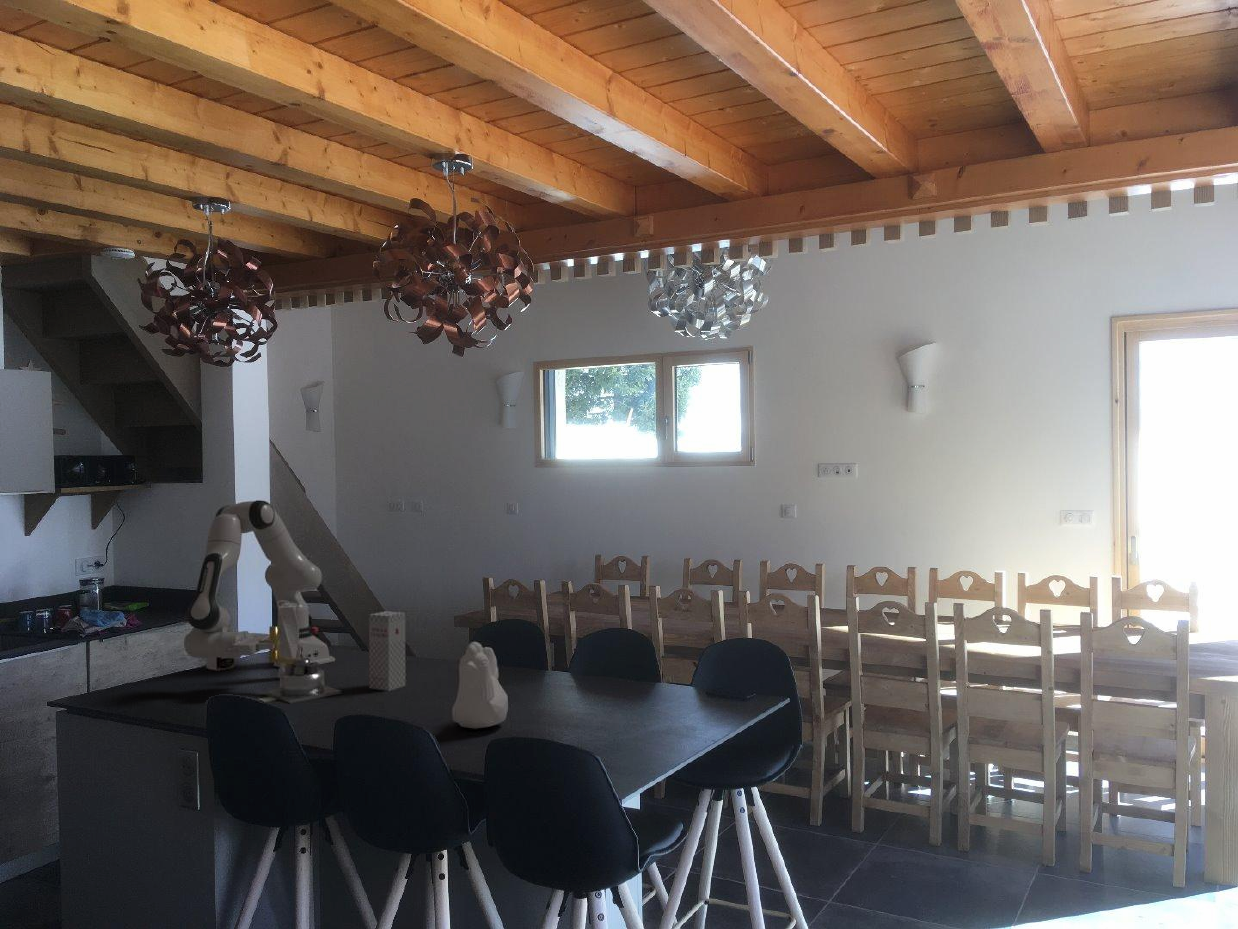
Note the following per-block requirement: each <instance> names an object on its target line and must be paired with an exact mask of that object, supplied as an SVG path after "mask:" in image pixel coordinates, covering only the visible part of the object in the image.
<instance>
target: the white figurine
mask: <svg viewBox="0 0 1238 929" xmlns="http://www.w3.org/2000/svg"><path fill="white" fill-rule="evenodd" d="M458 666H459V667H458V669H459V670H458V671H459V673H458V674H459V684H458V692H457V694H456V699H455V701H454V704H453V706H452V709H451V710H452V711H451V712H452V714H451V715H452V720H453V721H454V723H457V724H458V725H459V726H460V727H463V728H468V729H469V728H470V729H482V728H488V727H492V726H496V725H499V724H501V723H502V722H504V721H506V718H507V714H508V710H509V702H508V701H509V700H508V699H509V698H508V696H509V695H507V693H506V691H505V690H504V688H503V687H502V686H501V684H500V682H499V680H498V679H499V667H498V660H497V657H496V654H495V652H494V650H493V648H491V647H487V646H485V647H483V645H482V644H481V643H479V642H477V641H472V642H470V643H469V644H468V645H467V648H466V650H465V654H463V656H461V658H460V661H459V665H458Z"/></svg>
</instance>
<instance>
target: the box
mask: <svg viewBox="0 0 1238 929" xmlns="http://www.w3.org/2000/svg"><path fill="white" fill-rule="evenodd" d="M368 640H369V641H368V642H369V643H368V649H369V650H368V651H369V653H368V654H369V655H368V656H369V657H368V659H369V660H368V662H369V665H368V666H369V667H368V668H369V672H368V673H369V674H368V676H369V685H368V686H369V689H373V690H381V691H388V692H390V691H394V690H396V689H399V688H402V687H406V613H405V612H399V611H389V610H387V611H386V610H385V611H379V612H375V613H370V614H368Z"/></svg>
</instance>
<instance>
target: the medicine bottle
mask: <svg viewBox="0 0 1238 929" xmlns="http://www.w3.org/2000/svg"><path fill="white" fill-rule="evenodd" d="M234 668H235V658H221V657H216V658H206V669H209V670H211V671H215V672H217V671H222V670H223V671H224V670H228V669H234Z"/></svg>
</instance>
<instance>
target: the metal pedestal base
mask: <svg viewBox="0 0 1238 929" xmlns="http://www.w3.org/2000/svg"><path fill="white" fill-rule="evenodd" d="M262 692H263V695H264V696H266V697H272V698H275V699H276V700H280V701H283V702H284V703H289V704H294V703H298V702H299V703H300V702H304V701H310V700H315V699H320V698H325V697H330V696H331V697H332V696H335V695H340V694H342V691H341V689H338V688H333V687H330V686H327V685H325V670H324V669H320V668H319V671H317V673H313V674H307V673H304V675H294V671H293V674H289V675H288V674H286V673H285V671H284V672H282V673H280V679H279V688H275V689H269V690H263V691H262Z"/></svg>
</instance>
